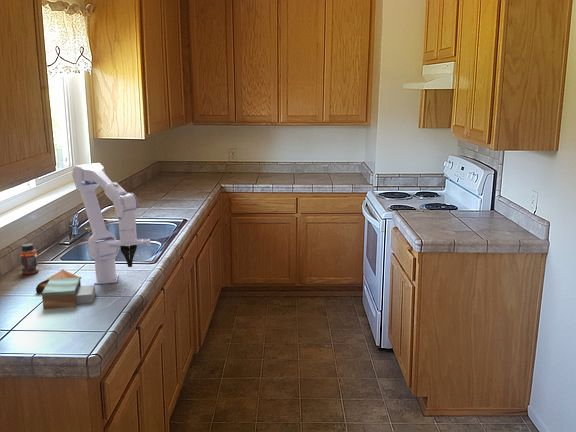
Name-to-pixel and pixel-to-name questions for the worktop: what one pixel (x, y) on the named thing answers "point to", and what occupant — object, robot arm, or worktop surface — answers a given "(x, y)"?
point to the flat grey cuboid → (85, 294)
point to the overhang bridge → (60, 293)
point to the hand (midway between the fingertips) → (130, 266)
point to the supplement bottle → (29, 259)
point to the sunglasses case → (58, 275)
